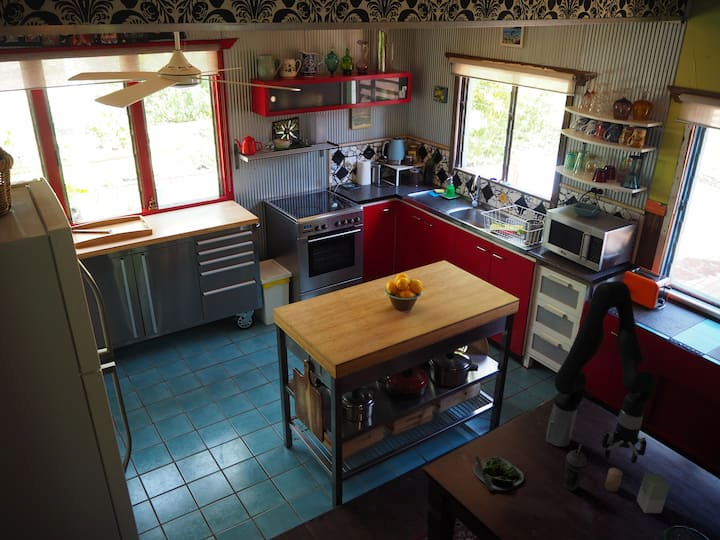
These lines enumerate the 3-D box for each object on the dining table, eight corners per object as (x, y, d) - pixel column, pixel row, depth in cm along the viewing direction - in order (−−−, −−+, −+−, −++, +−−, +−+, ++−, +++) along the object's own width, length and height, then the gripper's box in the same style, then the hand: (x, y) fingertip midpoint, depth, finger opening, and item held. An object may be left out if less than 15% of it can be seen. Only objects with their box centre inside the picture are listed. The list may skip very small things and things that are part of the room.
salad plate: (458, 467, 229) (460, 457, 227) (492, 452, 238) (494, 442, 237) (495, 499, 214) (497, 489, 212) (529, 482, 224) (531, 472, 222)
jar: (605, 490, 221) (609, 474, 219) (604, 481, 226) (608, 466, 223) (619, 493, 220) (623, 478, 218) (617, 484, 225) (621, 469, 222)
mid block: (649, 499, 210) (653, 486, 207) (640, 487, 215) (644, 474, 213) (665, 499, 210) (669, 486, 208) (656, 487, 216) (660, 474, 213)
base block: (644, 513, 212) (648, 499, 210) (636, 500, 217) (640, 487, 215) (661, 513, 212) (665, 499, 210) (652, 500, 218) (656, 487, 216)
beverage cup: (580, 482, 224) (591, 438, 217) (580, 495, 218) (591, 451, 210) (560, 477, 226) (570, 433, 219) (559, 490, 220) (569, 445, 212)
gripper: (609, 424, 211) (600, 461, 216) (652, 432, 207) (642, 470, 213) (607, 412, 217) (598, 449, 223) (649, 420, 214) (639, 457, 220)
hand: (619, 459), depth 218 cm, fingers open, 8 cm apart
